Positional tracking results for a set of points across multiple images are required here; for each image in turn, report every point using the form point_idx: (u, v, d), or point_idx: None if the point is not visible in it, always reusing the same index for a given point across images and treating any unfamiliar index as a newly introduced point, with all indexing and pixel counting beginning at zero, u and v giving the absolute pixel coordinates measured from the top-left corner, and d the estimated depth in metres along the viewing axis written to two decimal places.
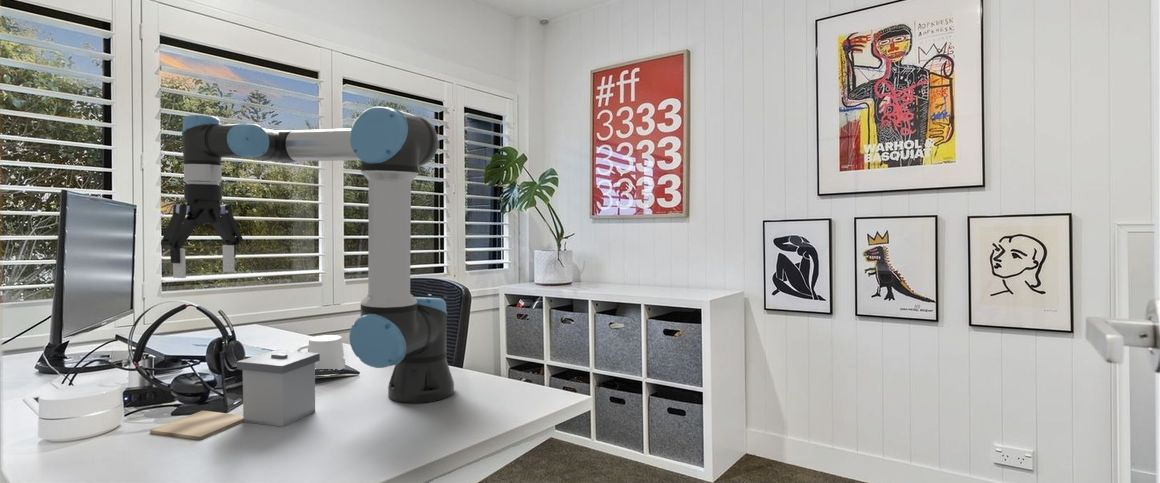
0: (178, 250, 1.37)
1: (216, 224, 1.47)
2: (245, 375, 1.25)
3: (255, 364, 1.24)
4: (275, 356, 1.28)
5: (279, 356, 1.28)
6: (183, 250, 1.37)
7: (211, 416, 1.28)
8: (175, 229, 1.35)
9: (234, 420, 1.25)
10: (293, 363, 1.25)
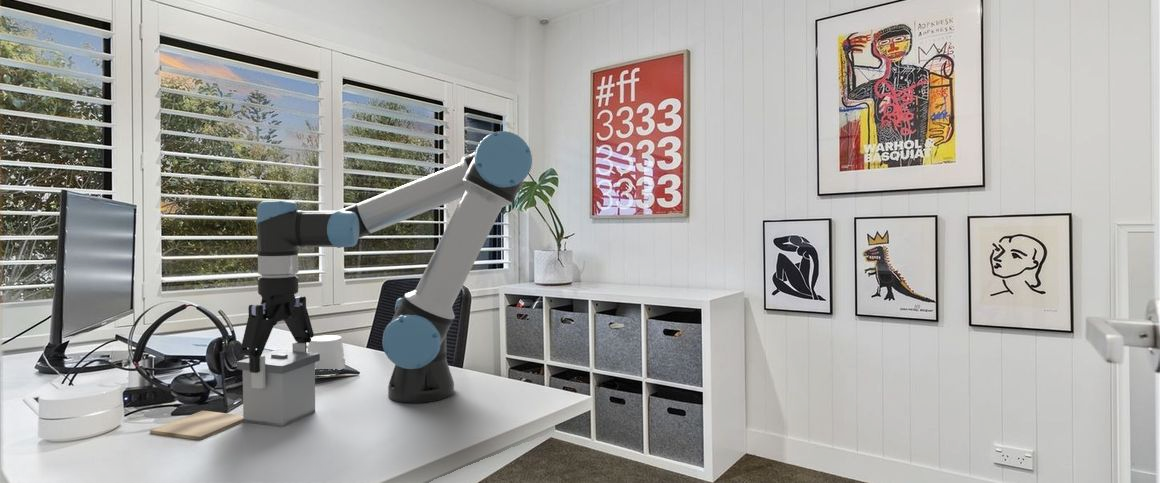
0: (258, 358, 1.22)
1: (290, 319, 1.31)
2: (245, 375, 1.25)
3: None
4: (275, 356, 1.28)
5: (279, 356, 1.28)
6: (263, 357, 1.23)
7: (211, 416, 1.28)
8: (254, 335, 1.21)
9: (234, 420, 1.25)
10: (293, 363, 1.25)
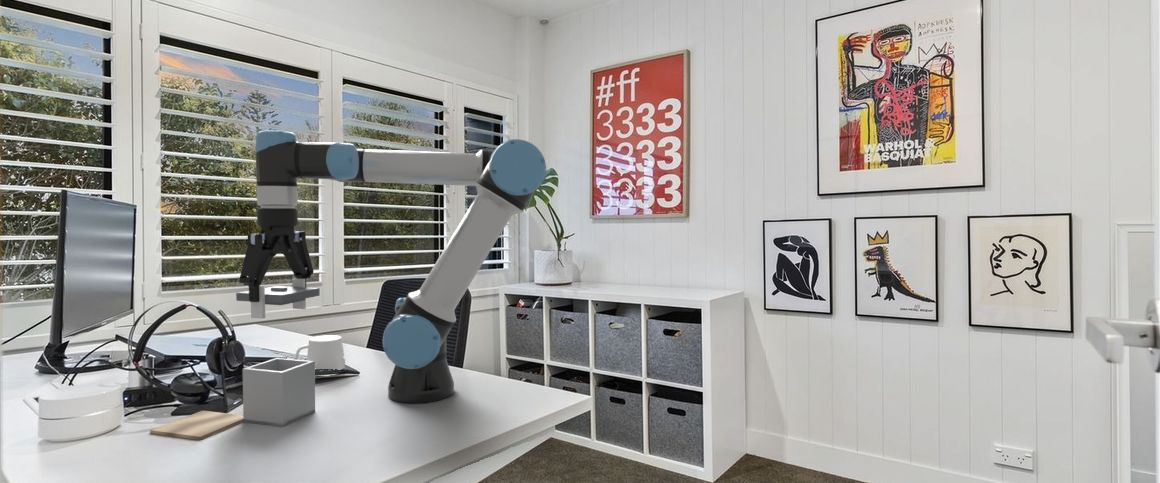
0: (257, 287, 1.22)
1: (289, 253, 1.30)
2: (245, 375, 1.25)
3: None
4: (275, 289, 1.28)
5: (279, 289, 1.27)
6: (263, 287, 1.22)
7: (211, 416, 1.28)
8: (253, 264, 1.20)
9: (234, 420, 1.25)
10: (293, 294, 1.24)
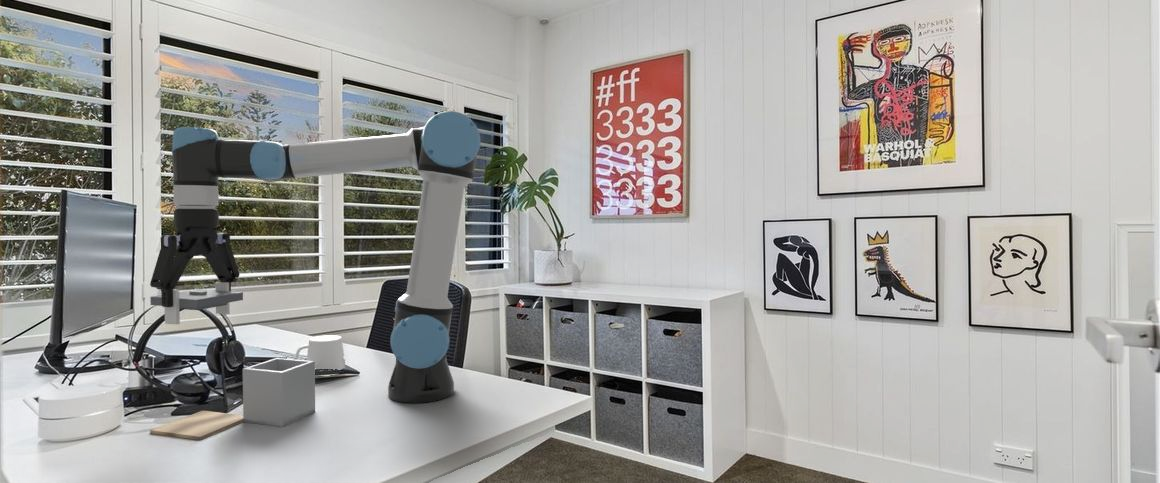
0: (171, 291, 1.16)
1: (210, 255, 1.24)
2: (245, 375, 1.25)
3: None
4: (193, 293, 1.22)
5: (197, 293, 1.22)
6: (177, 291, 1.16)
7: (211, 416, 1.28)
8: (165, 267, 1.14)
9: (234, 420, 1.25)
10: (210, 298, 1.18)
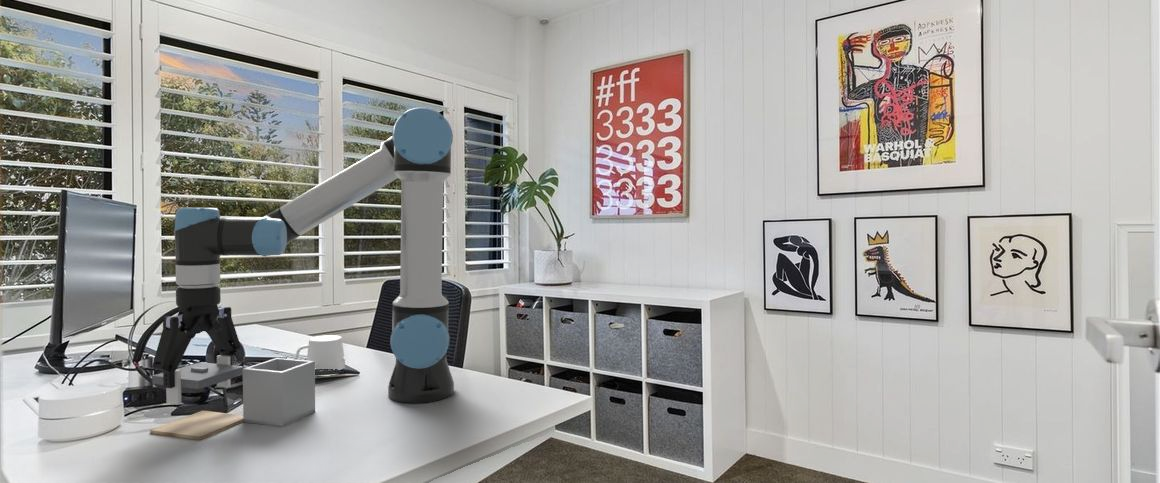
0: (172, 372, 1.16)
1: (212, 331, 1.25)
2: (245, 375, 1.25)
3: None
4: (195, 370, 1.23)
5: (199, 370, 1.22)
6: (178, 372, 1.17)
7: (211, 416, 1.28)
8: (167, 349, 1.15)
9: (234, 420, 1.25)
10: (211, 377, 1.19)
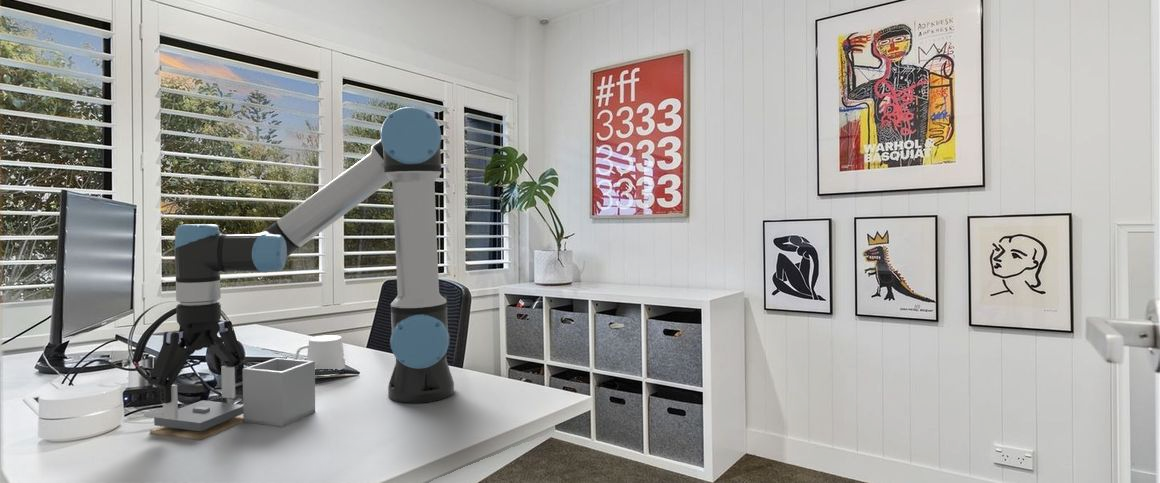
0: (169, 387, 1.16)
1: (214, 346, 1.26)
2: (245, 375, 1.25)
3: (172, 420, 1.19)
4: (196, 410, 1.23)
5: (200, 410, 1.23)
6: (175, 387, 1.16)
7: None
8: (165, 364, 1.14)
9: (234, 420, 1.25)
10: (213, 419, 1.20)
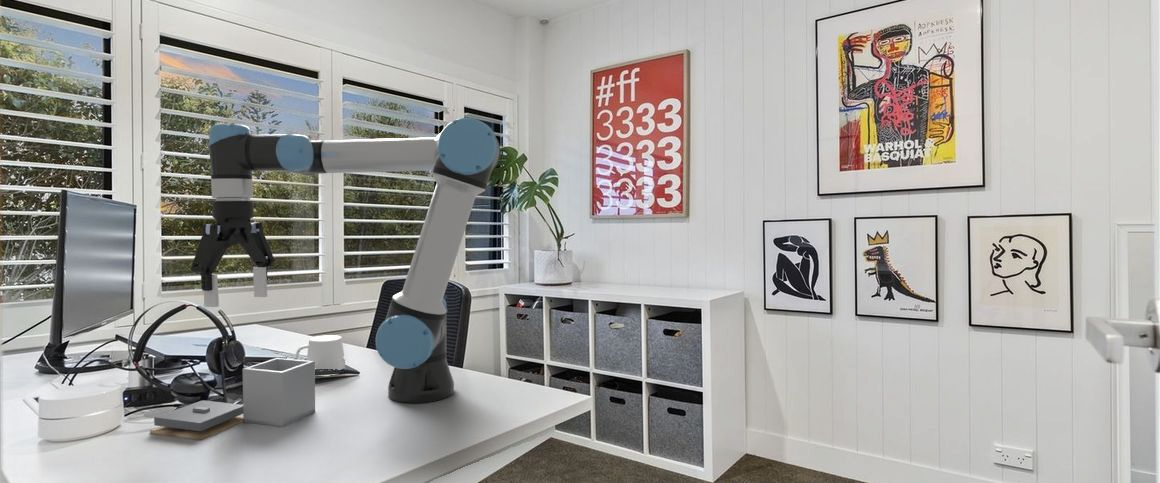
0: (210, 276, 1.22)
1: (247, 244, 1.32)
2: (245, 375, 1.25)
3: (172, 420, 1.19)
4: (196, 410, 1.23)
5: (200, 410, 1.23)
6: (215, 275, 1.22)
7: None
8: (206, 252, 1.20)
9: (234, 420, 1.25)
10: (213, 419, 1.20)
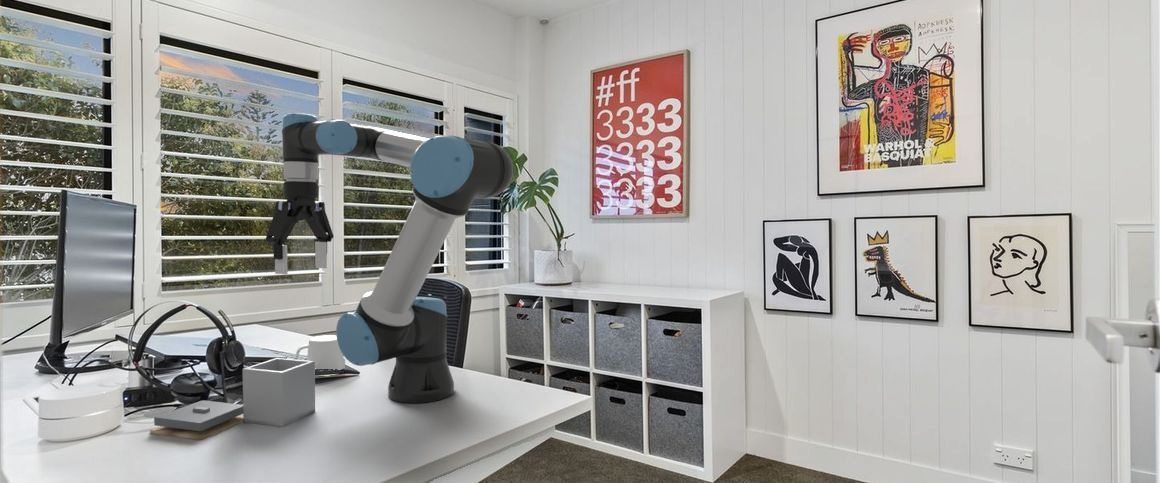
0: (281, 246, 1.39)
1: (311, 221, 1.49)
2: (245, 375, 1.25)
3: (172, 420, 1.19)
4: (196, 410, 1.23)
5: (200, 410, 1.23)
6: (285, 246, 1.39)
7: None
8: (279, 226, 1.37)
9: (234, 420, 1.25)
10: (213, 419, 1.20)
